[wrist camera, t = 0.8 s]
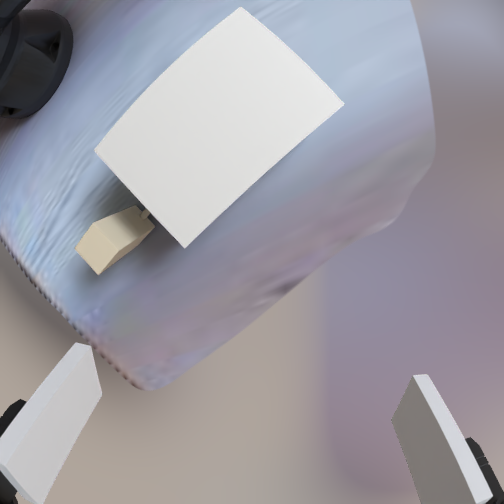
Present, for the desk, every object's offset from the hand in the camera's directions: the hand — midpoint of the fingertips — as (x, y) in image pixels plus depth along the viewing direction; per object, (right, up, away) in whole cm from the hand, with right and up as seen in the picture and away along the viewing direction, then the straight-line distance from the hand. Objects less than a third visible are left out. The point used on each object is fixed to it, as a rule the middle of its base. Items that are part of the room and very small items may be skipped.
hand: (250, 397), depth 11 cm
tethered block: (-6, +14, +19) cm, 24 cm away
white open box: (-3, +17, +18) cm, 25 cm away
